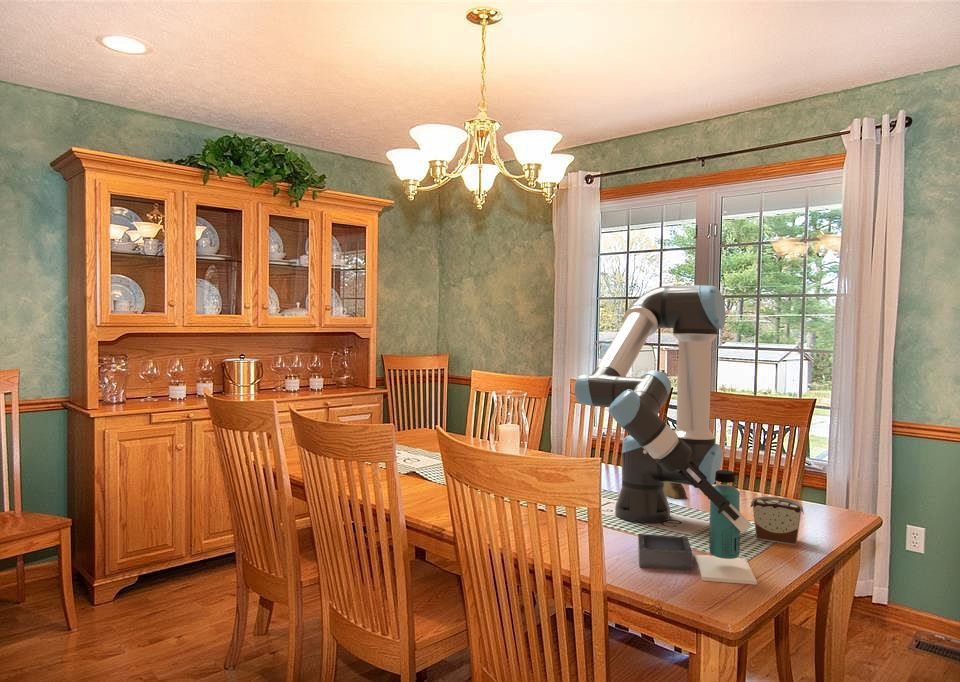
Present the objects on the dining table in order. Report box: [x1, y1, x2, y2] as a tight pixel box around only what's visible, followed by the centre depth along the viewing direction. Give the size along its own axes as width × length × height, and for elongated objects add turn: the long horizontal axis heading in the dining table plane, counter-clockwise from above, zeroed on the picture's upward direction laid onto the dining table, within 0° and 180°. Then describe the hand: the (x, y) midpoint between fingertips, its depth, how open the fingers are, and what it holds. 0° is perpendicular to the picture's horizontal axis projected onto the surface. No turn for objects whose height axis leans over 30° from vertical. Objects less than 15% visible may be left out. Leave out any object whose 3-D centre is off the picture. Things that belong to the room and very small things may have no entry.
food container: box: [750, 496, 805, 546], centre depth 174 cm, size 12×6×10 cm, turn 59°
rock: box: [664, 482, 688, 499], centre depth 217 cm, size 11×9×10 cm
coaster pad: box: [694, 554, 758, 585], centre depth 152 cm, size 14×11×1 cm
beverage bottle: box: [708, 469, 741, 559], centre depth 152 cm, size 6×7×20 cm
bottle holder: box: [637, 533, 693, 572], centre depth 159 cm, size 11×11×4 cm
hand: (741, 523), depth 152 cm, fingers closed on beverage bottle, 6 cm apart
